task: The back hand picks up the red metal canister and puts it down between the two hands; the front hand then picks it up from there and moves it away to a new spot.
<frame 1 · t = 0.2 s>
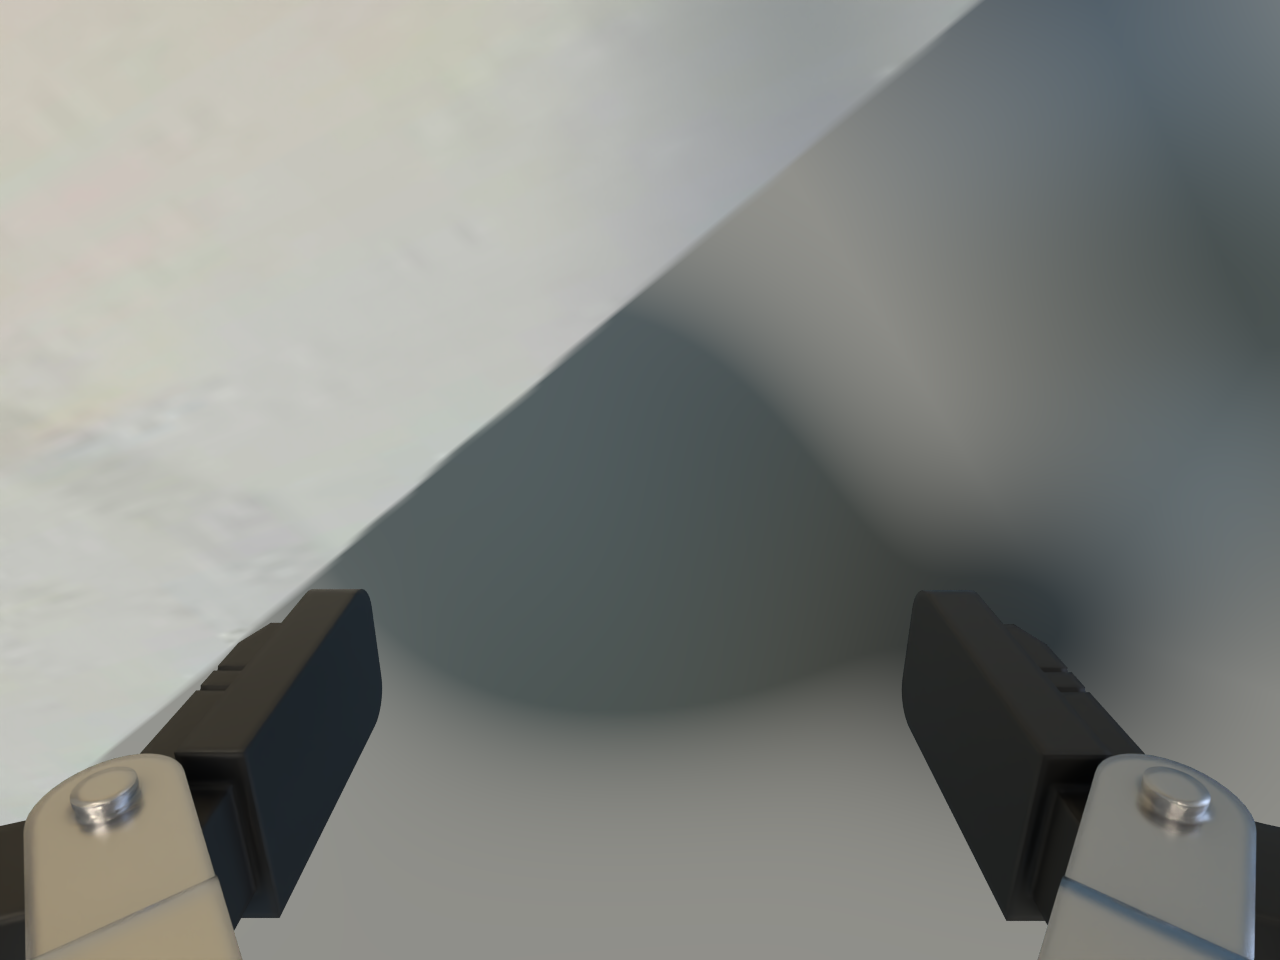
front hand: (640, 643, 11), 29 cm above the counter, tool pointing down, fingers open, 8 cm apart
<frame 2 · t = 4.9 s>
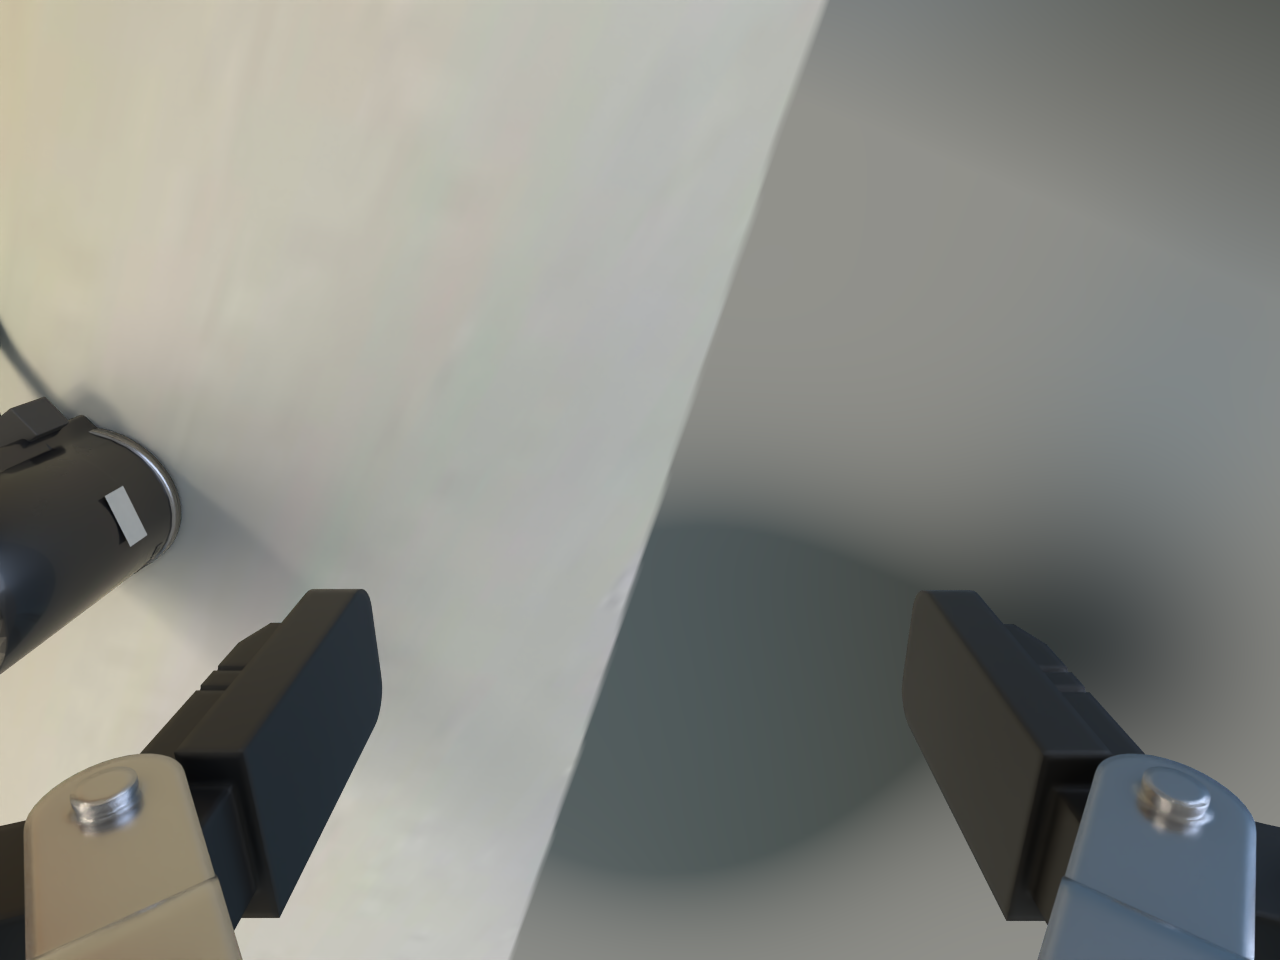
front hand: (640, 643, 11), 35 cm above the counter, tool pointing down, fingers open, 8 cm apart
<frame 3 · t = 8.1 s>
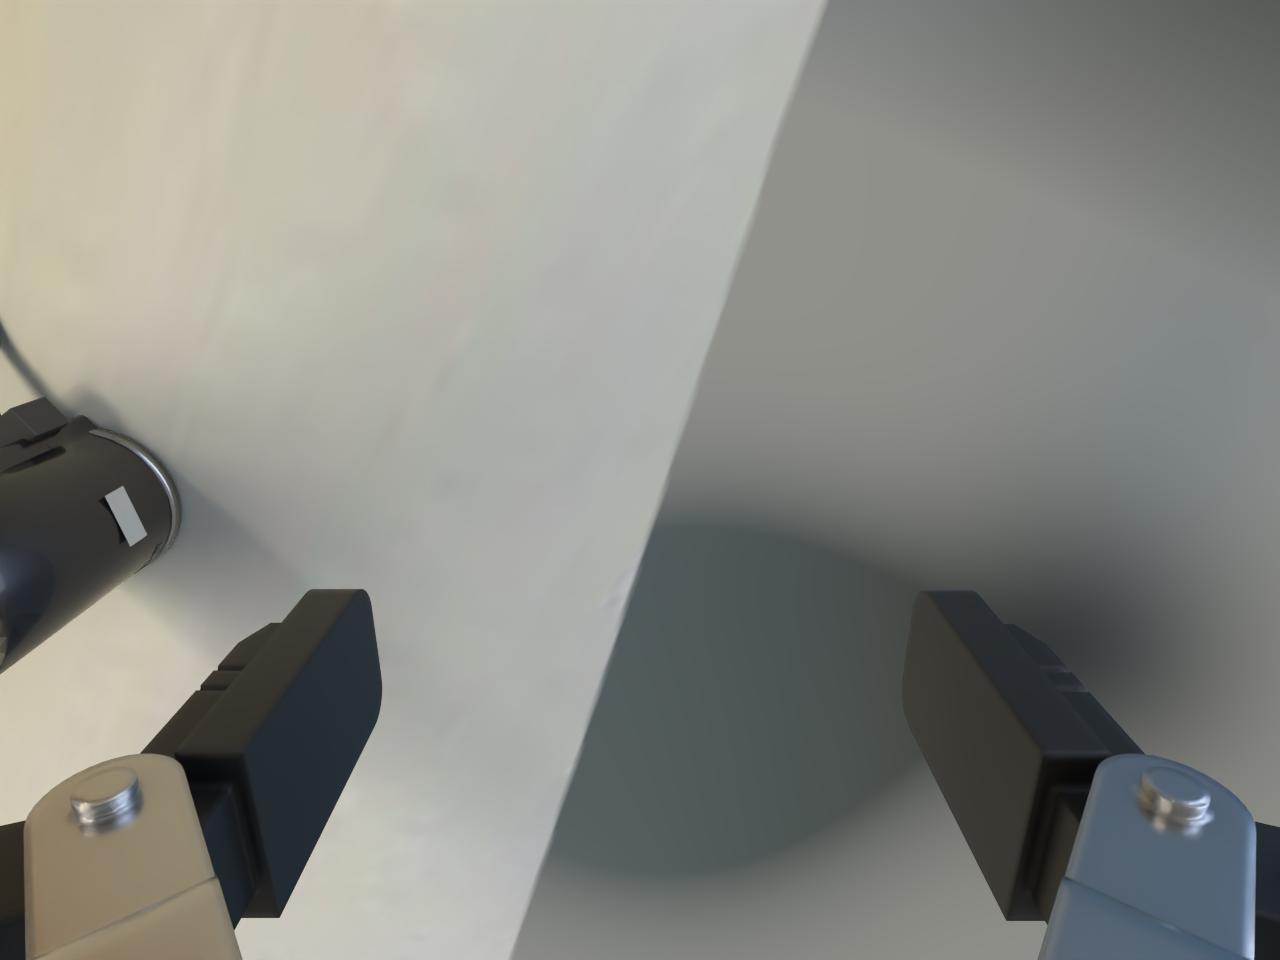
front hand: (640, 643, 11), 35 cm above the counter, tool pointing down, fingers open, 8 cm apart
when the back hand's fingers open (9 cm above the counter, at t = 11.2 s): canister drops 1 cm, on the counter.
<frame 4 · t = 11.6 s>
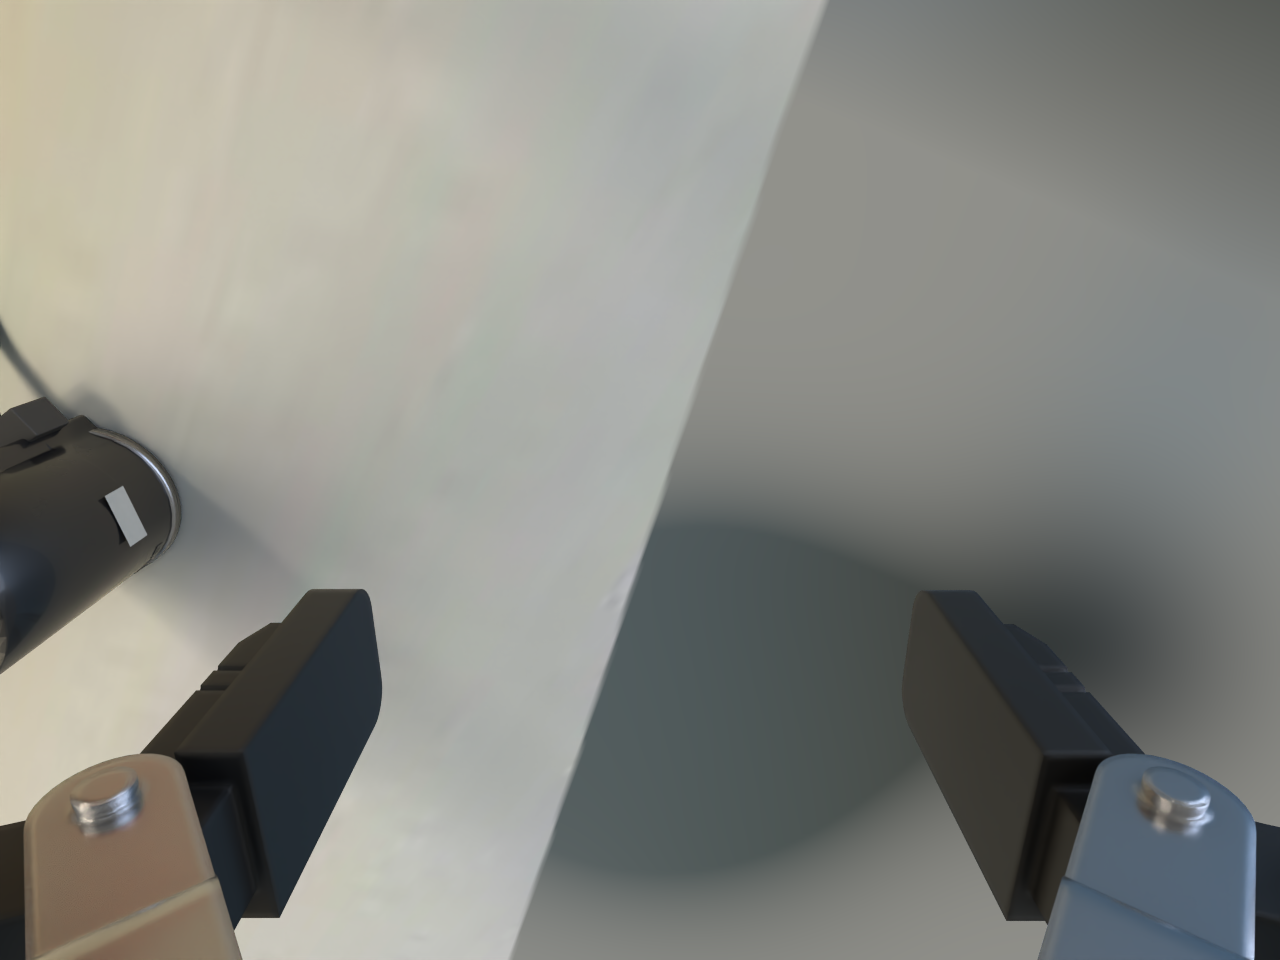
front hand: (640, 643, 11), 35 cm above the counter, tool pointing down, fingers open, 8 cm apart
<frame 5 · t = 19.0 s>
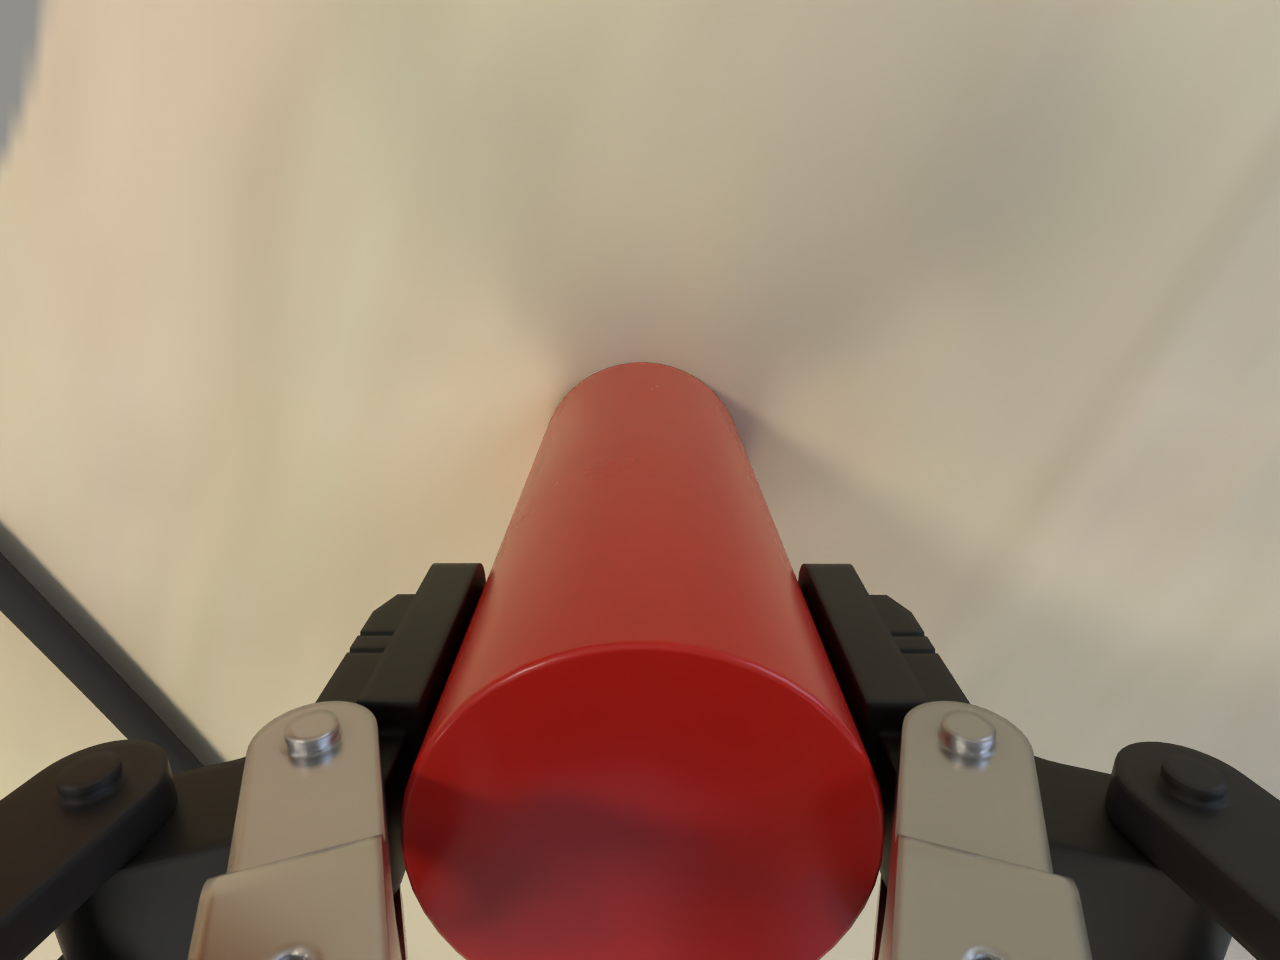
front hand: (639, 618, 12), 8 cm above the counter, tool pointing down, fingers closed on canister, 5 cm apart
canister: (641, 458, 19), on the counter, touching front hand
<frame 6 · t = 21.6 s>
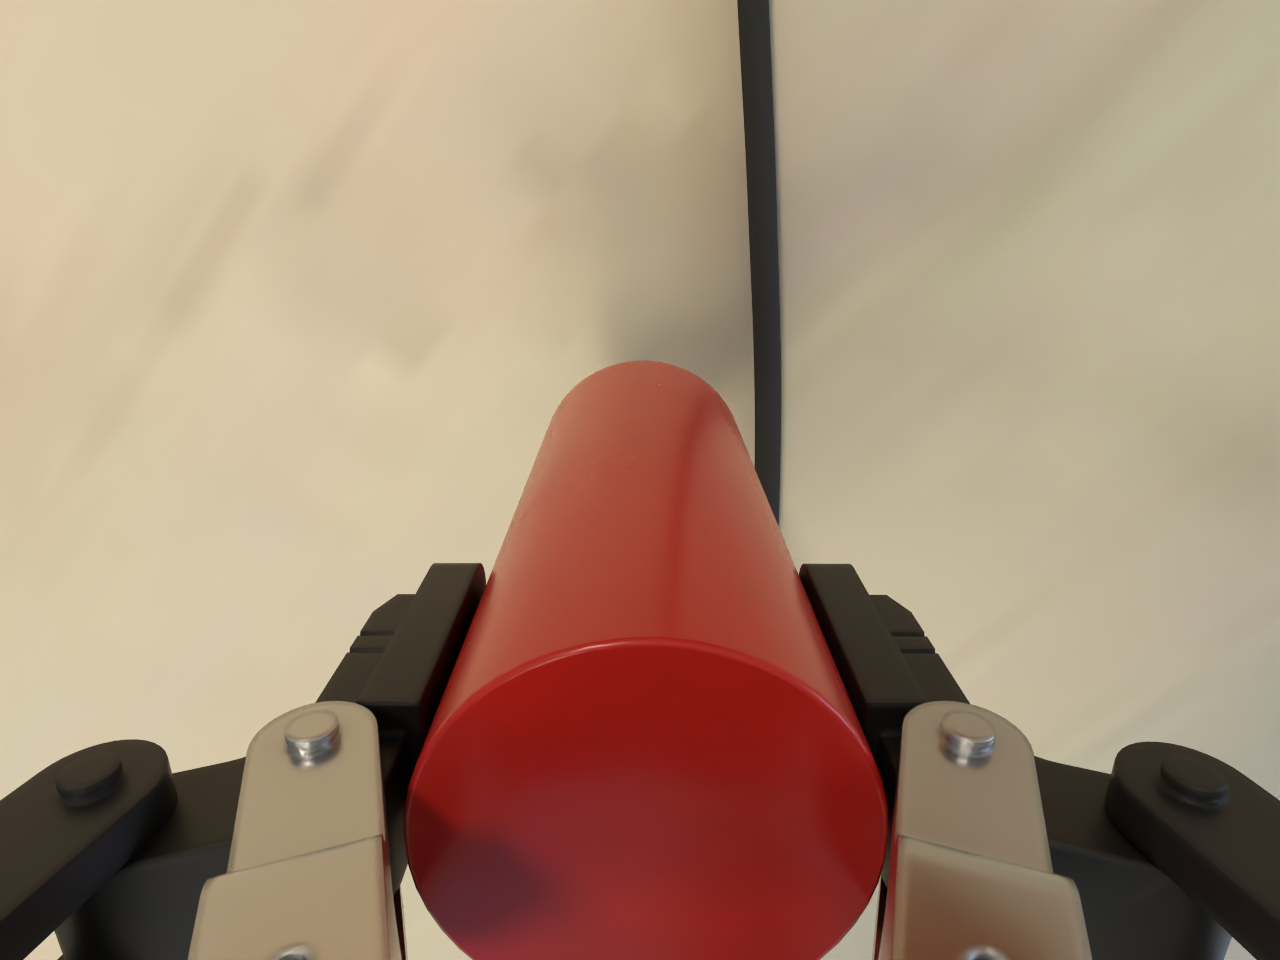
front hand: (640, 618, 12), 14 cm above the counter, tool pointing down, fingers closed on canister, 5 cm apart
canister: (642, 457, 19), point 7 cm above the counter, touching front hand
when the front hand's fingers open (9 cm above the counter, at t = 24.6 s): canister drops 1 cm, on the counter.
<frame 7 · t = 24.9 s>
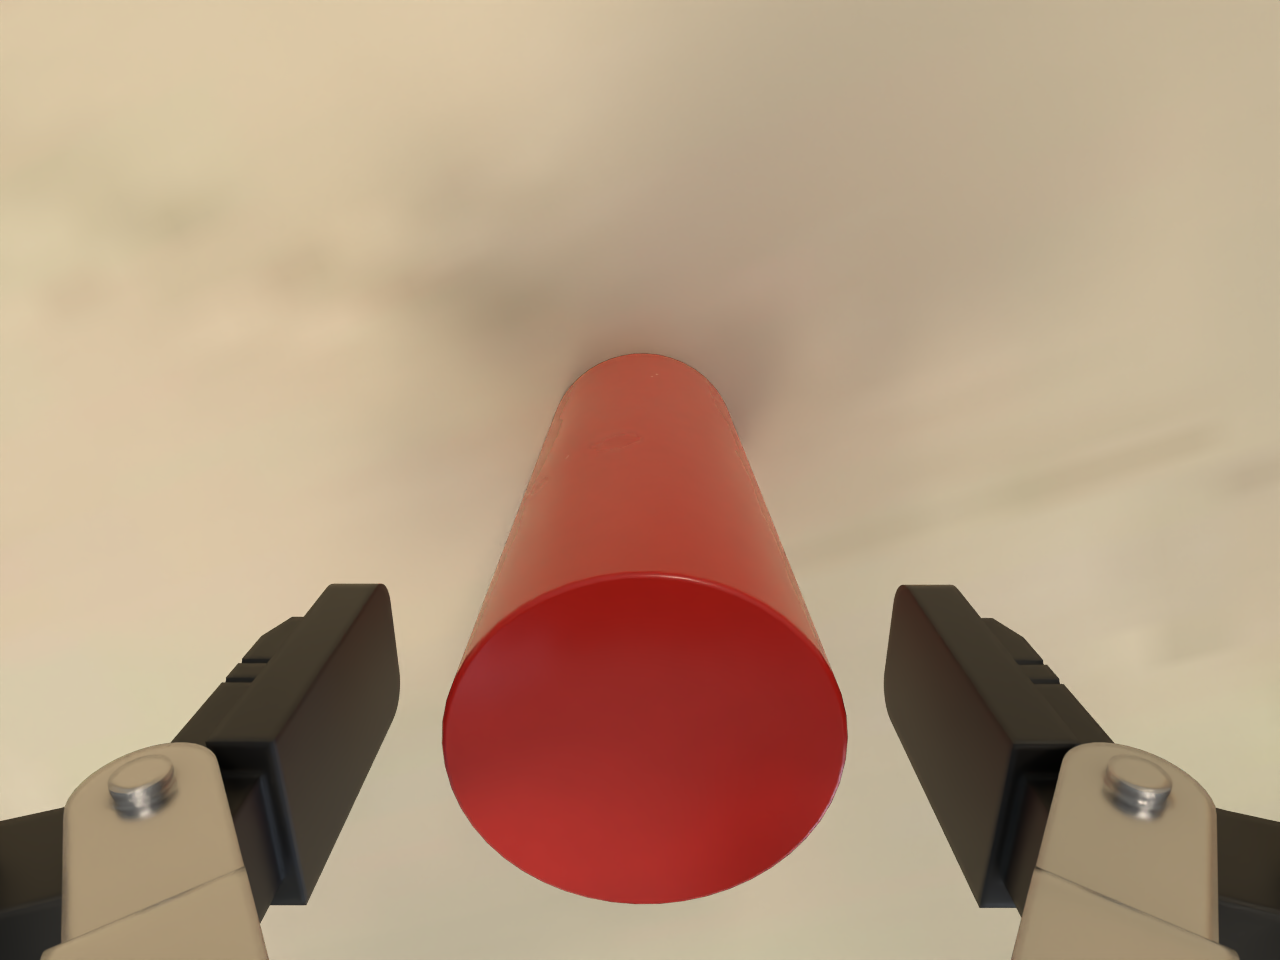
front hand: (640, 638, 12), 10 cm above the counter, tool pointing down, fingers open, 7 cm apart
canister: (642, 443, 21), on the counter
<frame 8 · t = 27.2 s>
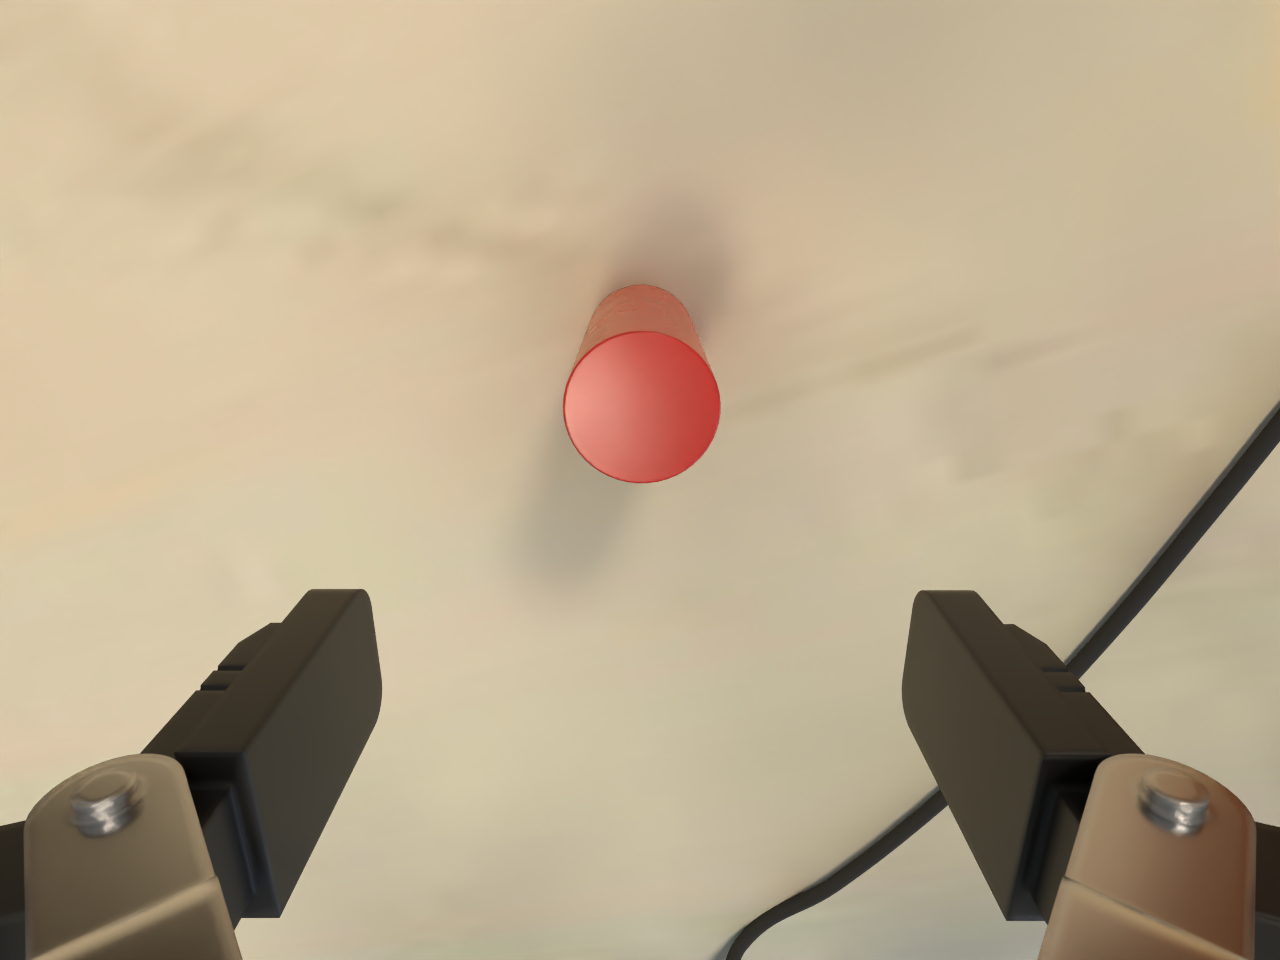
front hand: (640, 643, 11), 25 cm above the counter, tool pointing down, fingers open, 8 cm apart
canister: (641, 339, 35), on the counter
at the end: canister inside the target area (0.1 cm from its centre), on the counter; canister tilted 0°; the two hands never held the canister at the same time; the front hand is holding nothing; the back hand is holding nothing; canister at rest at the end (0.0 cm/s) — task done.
